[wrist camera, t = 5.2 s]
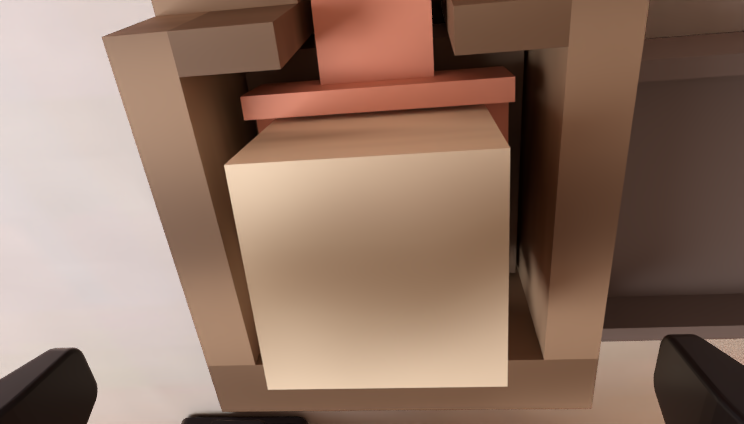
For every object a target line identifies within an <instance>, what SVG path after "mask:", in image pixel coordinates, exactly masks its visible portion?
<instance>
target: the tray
mask: <svg viewBox="0 0 744 424" xmlns="http://www.w3.org/2000/svg"><path fill="white" fill-rule="evenodd" d="M669 334H695V335H697V336H699V337H701V338H703V339H738V338H744V31H741V32H728V33H716V34H703V35H690V36H677V37H665V38H652V39H644V44H643V51H642V58H641V65H640V72H639V79H638V86H637V93H636V100H635V107H634V114H633V121H632V128H631V135H630V142H629V149H628V156H627V163H626V170H625V177H624V184H623V191H622V198H621V205H620V212H619V219H618V226H617V233H616V240H615V247H614V254H613V261H612V268H611V275H610V281H609V288H608V295H607V302H606V309H605V316H604V323H603V330H602V337H601V341H645V340H662V339H663V337H664V336H666V335H669Z"/></svg>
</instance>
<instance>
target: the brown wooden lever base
mask: <svg viewBox="0 0 744 424" xmlns="http://www.w3.org/2000/svg"><path fill="white" fill-rule="evenodd" d="M151 1H152V5H153V8H154V12H155V16H156V17H153V18H150V19H148V20H145V21H142V22H140V23H137V24H135V25H132V26H129V27H127V28H124V29H122V30H119V31H116V32H114V33H111V34H108V35H106V36H103V37H102V40H103V43H104V46H105V49H106V52H107V55H108V58H109V61H110V64H111V67H112V71H113V74H114V77H115V80H116V83H117V86H118V89H119V92H120V95H121V99H122V102H123V105H124V108H125V111H126V114H127V117H128V120H129V123H130V126H131V130H132V133H133V136H134V139H135V142H136V145H137V148H138V151H139V154H140V158H141V161H142V164H143V167H144V170H145V173H146V176H147V179H148V182H149V185H150V189H151V192H152V195H153V198H154V201H155V204H156V207H157V210H158V213H159V216H160V220H161V223H162V226H163V229H164V232H165V235H166V238H167V241H168V244H169V248H170V251H171V254H172V257H173V260H174V263H175V266H176V269H177V272H178V275H179V279H180V282H181V285H182V288H183V291H184V294H185V297H186V300H187V303H188V307H189V310H190V313H191V316H192V319H193V322H194V325H195V328H196V331H197V334H198V338H199V341H200V344H201V347H202V350H203V353H204V356H205V359H206V362H207V366H208V369H209V372H210V375H211V378H212V381H213V384H214V387H215V390H216V393H217V397H218V400H219V403H220V406H221V409H222V412H245V411H359V410H473V409H588V408H591V407H592V400H593V393H594V386H595V379H596V372H597V365H598V358H599V351H600V344H601V337H602V330H603V323H604V316H605V309H606V302H607V295H608V288H609V281H610V275H611V268H612V261H613V254H614V247H615V240H616V233H617V226H618V219H619V212H620V205H621V198H622V191H623V184H624V177H625V170H626V163H627V156H628V149H629V142H630V135H631V128H632V121H633V114H634V107H635V100H636V93H637V86H638V79H639V72H640V65H641V58H642V51H643V44H644V37H645V30H646V23H647V16H648V9H649V2H650V0H441V3H442V13H443V16H444V20H445V23H440V24H432V33H433V57H434V71H444V70H457V69H470V68H483V67H496V66H504V67H505V68H506V69H507V70H508V71H510V72H511V73H512V74H513V75H514V76H515V102H509V114H508V145H509V147H510V216H509V302H508V387H438V388H362V389H286V390H268V387H267V382H266V377H265V372H264V367H263V362H262V357H261V352H260V346H259V341H258V336H257V331H256V326H255V321H254V316H253V311H252V306H251V301H250V295H249V290H248V285H247V280H246V275H245V270H244V265H243V260H242V255H241V249H240V244H239V239H238V234H237V229H236V224H235V219H234V214H233V209H232V204H231V198H230V193H229V188H228V183H227V178H226V173H225V168H224V165H225V164H226V163H227V162H228V161H229V160H230V159H231V158H232V157H234V156H235V155H236V154H237V153H238V152H239V151H240V150H241V149H243V148H244V147H245V146H246V145H247V144H248V143H249V142H250V141H252V140H253V139H254V138H255V137H256V136H257V135H258V134H259V133H258V127H257V121H256V120H244V117H243V111H242V105H241V100H240V97H241V96H242V95H244V94H246V93H247V92H249V91H251V90H253V89H254V88H256V87H258V86H259V85H261V84H272V83H285V82H298V81H311V80H320V74H319V66H318V58H317V49H316V41H315V34H312V33H313V32H314V24H313V15H312V7H311V0H151Z"/></svg>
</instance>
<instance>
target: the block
mask: <svg viewBox="0 0 744 424" xmlns="http://www.w3.org/2000/svg"><path fill="white" fill-rule="evenodd" d="M224 168H225V173H226V178H227V183H228V188H229V193H230V198H231V204H232V209H233V214H234V219H235V224H236V229H237V234H238V239H239V244H240V249H241V255H242V260H243V265H244V270H245V275H246V280H247V285H248V290H249V295H250V301H251V306H252V311H253V316H254V321H255V326H256V331H257V336H258V341H259V346H260V352H261V357H262V362H263V367H264V372H265V377H266V382H267V387H268V390H286V389H362V388H438V387H508V302H509V216H510V147H509V145H508V143H507V142H506V140H505V138H504V136H503V135H502V133H501V131H500V130H499V128H498V126H497V124H496V123H495V121H494V119H493V118H492V116H491V114H490V112H489V111H488V109H487V107H486V106H485V104H476V105H461V106H447V107H432V108H417V109H403V110H388V111H374V112H359V113H344V114H330V115H315V116H301V117H286V118H276V119H275V120H274V121H273V122H272V123H271V124H270V125H268V126H267V127H266V128H265V129H264V130H263V131H262V132H261V133H259V134H258V135H257V136H256V137H255V138H254V139H253V140H252V141H250V142H249V143H248V144H247V145H246V146H245V147H244V148H243V149H241V150H240V151H239V152H238V153H237V154H236V155H235V156H234V157H232V158H231V159H230V160H229V161H228V162H227V163H226V164H225V165H224Z"/></svg>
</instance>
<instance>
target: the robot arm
mask: <svg viewBox="0 0 744 424" xmlns="http://www.w3.org/2000/svg"><path fill="white" fill-rule="evenodd" d="M654 388H655V393H656V396H657V399H658V402H659V405H660V408H661V411H662V415H663V418H664V421H665V424H744V365H742V364H741V363H739V362H738V361H736V360H734V359H733V358H731V357H730V356H728V355H727V354H725V353H724V352H722V351H721V350H719V349H718V348H716V347H715V346H713V345H712V344H710V343H709V342H707V341H706V340H704V339H703V338H701V337H699V336H697V335H695V334H669V335H666V336H664V337H663V339H662V341H661V344H660V349H659V354H658V358H657V363H656V368H655V372H654ZM96 398H97V383H96V381H95V378H94V376H93V374H92V372H91V370H90V368H89V365H88V363H87V361H86V359H85V357H84V355H83V353H82V352H81V351H80V350H79V349H77V348H54V349H50V350H48V351H46V352H45V353H43V354H41V355H40V356H38V357H36V358H35V359H33V360H31V361H30V362H28V363H26V364H25V365H23V366H22V367H20V368H18V369H17V370H15V371H13V372H12V373H10V374H8V375H7V376H5V377H3V378H2V379H0V424H87V422H88V419H89V417H90V414H91V412H92V409H93V406H94V404H95V401H96ZM181 424H308V423H307V421H306V420H305V419H303V418H301V417H203V418H185V419H184V420H183V421H182V423H181Z"/></svg>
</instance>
